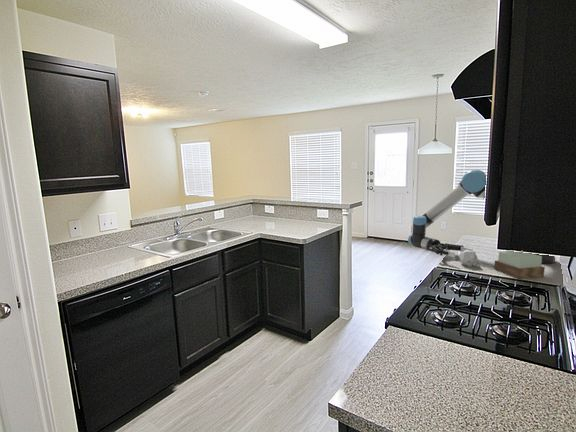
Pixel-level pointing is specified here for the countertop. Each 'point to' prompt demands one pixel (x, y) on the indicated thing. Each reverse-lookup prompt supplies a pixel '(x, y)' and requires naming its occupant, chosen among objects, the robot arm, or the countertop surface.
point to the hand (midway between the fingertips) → (463, 253)
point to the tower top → (520, 259)
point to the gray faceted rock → (468, 258)
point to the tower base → (519, 271)
